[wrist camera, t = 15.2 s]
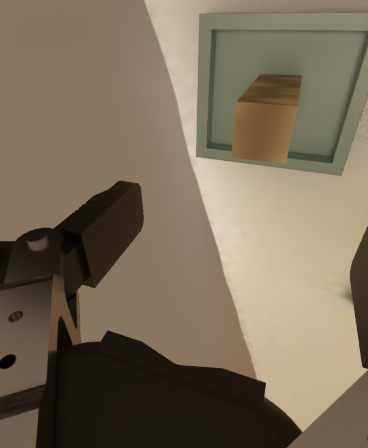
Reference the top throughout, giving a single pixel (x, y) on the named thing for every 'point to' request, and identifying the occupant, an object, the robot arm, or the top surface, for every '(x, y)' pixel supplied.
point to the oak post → (266, 118)
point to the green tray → (285, 65)
